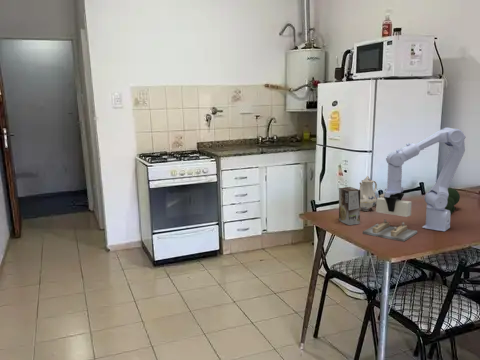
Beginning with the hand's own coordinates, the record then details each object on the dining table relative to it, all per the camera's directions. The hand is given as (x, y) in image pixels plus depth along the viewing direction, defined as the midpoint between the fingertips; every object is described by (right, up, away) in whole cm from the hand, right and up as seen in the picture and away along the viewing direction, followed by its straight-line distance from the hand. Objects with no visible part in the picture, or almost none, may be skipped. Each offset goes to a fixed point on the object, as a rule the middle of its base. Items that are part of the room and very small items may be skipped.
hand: (393, 210), depth 190 cm
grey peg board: (-3, -10, -4) cm, 11 cm away
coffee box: (-16, -7, +14) cm, 22 cm away
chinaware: (+3, -1, +42) cm, 42 cm away
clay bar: (0, -1, 0) cm, 1 cm away
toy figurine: (+36, -3, +26) cm, 45 cm away
